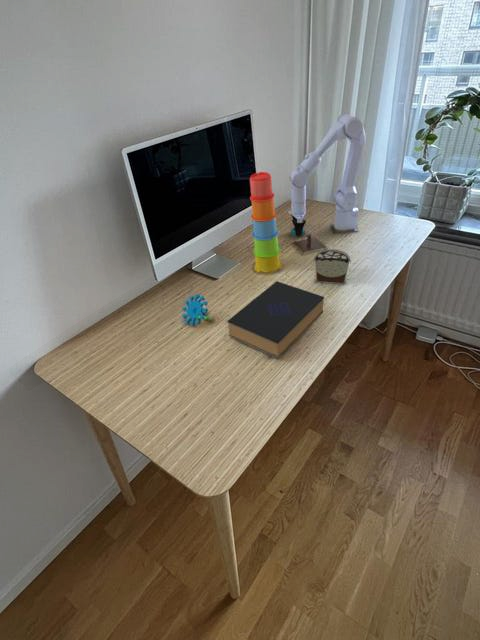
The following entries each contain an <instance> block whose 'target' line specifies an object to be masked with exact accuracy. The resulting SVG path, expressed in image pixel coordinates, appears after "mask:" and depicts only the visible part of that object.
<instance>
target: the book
mask: <svg viewBox="0 0 480 640" xmlns="http://www.w3.org/2000/svg"><path fill="white" fill-rule="evenodd" d="M324 300H325V296H322V295H320V294H317V293H314V292H312V291H308V290H305V289H302V288H299V287H295V286H292V285H290V284H287V283H284V282H280V281H278V280H276V281H274V283H272V284H271V285H270V286H268V287H267V288H266V289H265V290H264V291H262V292H261V293H260V294H259V295H258V296H256V297H255V298H254V299H253V300H251V301H250V302H249V303H247V305H245V306H244V307H243V308H242V309H240V310H239V311H238V312H237V313H235V314H234V315H233V316H232V317H231V318H229V319H228V320H227V321H226V323H227V325H228V332H229V333H228V334H229V335H228V337H230V338H232V339H234V340H236V341H238V342H240V343H242V344H244V345H246V346H249V347H250V348H253V349H256V350H257V351H260V352H261V353H264V354H266V355H268V356H270V357H273V358H275V359H277V360H279V359H280V358H281V357H282V356H283V355H284V354H285V353H286V352H287V351H288V349H290V347H292V346H293V344H295V342H296V341H297V340H298V339H299V338H300V337H301V336H302V335H304V333H305V332H306V331H307V330H308V329H309V328H310V327H311V326H312V325H313V324H314V323H315V322H316V321H317V320H318V319H319V318H320V317H321V316H322V315H323V314H324Z"/></svg>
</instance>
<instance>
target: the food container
mask: <svg viewBox="0 0 480 640" xmlns="http://www.w3.org/2000/svg"><path fill="white" fill-rule="evenodd" d="M312 261H313V262H314V265H315V281H316V283H327V284H339V285H345V282H346V278H347V274H348V269H349V264H350V265H352V260H351V257H350V255H349V253H347V252H346V251H344V250H340V249H334V248H333V249H332V248H331V249H330V248H329V249H324V250H320V251H318V252H317V253H315V255H314V257H313V260H312Z"/></svg>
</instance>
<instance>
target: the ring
mask: <svg viewBox="0 0 480 640" xmlns="http://www.w3.org/2000/svg"><path fill="white" fill-rule="evenodd" d="M290 235H291V236H292V237H295V238H299V237H303V236H305V235H306V229H305V227H303V230H302V234H301V236H296V233H295V227H294V226H293V227H291V228H290Z"/></svg>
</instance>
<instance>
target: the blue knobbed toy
mask: <svg viewBox="0 0 480 640" xmlns="http://www.w3.org/2000/svg"><path fill="white" fill-rule="evenodd" d="M188 299H189V300H187V299H186V300H185V301H184V305H185V306H183V307H182V308H181V311H182V312H186V314H185V313H182V315H181V316H182V318H183V319H184V323H185V324H187V325H191V326H193V327H194V326H195V324H196V325H200V324H201V320H202V321H204V322H213V319H212V318H210V317H209V316H208V315H207V313H208V311H209V309H208V308H206V307H207V306H208V305H209V304H208V303H209V302H208V301H207V300H205V299H206V298H205V296H204V295H200V294H197V293H195V295H190V296H189V297H188ZM202 301H203V302H202ZM203 306H206V307H203ZM187 318H188V319H187Z"/></svg>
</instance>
